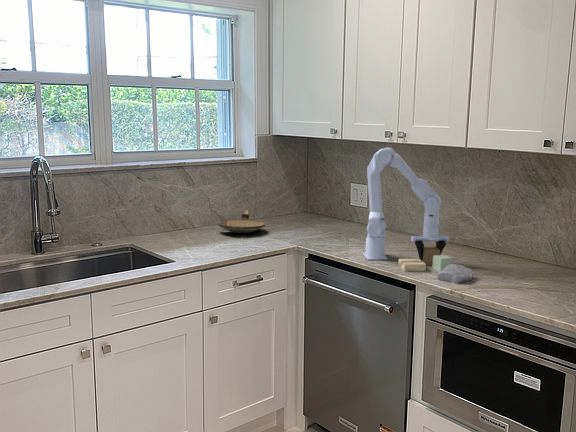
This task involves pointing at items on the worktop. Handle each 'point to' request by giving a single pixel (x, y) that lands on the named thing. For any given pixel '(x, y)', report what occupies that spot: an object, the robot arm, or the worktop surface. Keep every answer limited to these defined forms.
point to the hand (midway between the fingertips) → (429, 259)
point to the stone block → (455, 273)
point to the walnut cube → (429, 254)
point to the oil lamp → (242, 225)
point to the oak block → (412, 265)
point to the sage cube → (441, 261)
